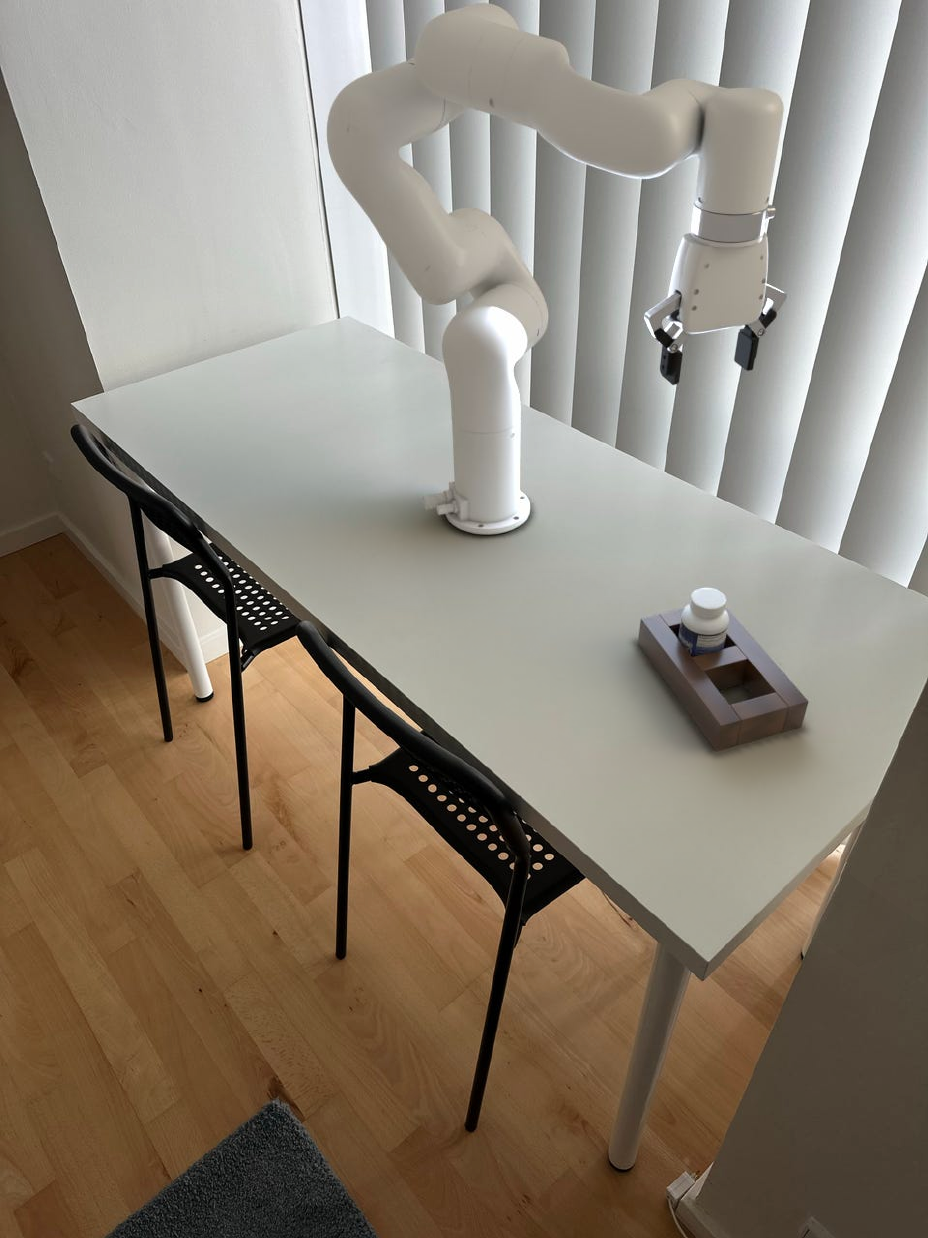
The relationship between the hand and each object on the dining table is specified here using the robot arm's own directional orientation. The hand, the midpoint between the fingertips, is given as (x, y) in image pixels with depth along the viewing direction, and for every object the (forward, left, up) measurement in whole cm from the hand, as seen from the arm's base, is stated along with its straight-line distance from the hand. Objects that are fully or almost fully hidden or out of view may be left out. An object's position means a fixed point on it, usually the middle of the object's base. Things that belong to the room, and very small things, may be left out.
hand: (706, 372), depth 111 cm
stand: (-7, -22, -28) cm, 37 cm away
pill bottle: (-7, -18, -28) cm, 34 cm away
